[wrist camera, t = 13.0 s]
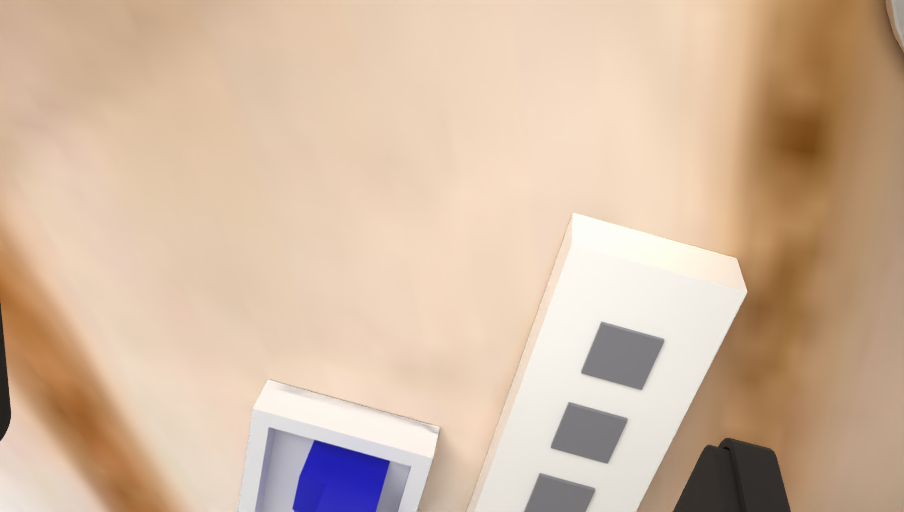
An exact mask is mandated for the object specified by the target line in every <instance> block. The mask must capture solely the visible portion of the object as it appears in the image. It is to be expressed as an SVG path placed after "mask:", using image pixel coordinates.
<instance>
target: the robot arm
mask: <svg viewBox="0 0 904 512" xmlns="http://www.w3.org/2000/svg"><path fill="white" fill-rule="evenodd" d="M886 9H887V13H888V16H889V20H890V23H891V27H892V31H893V34H894V36H895V38H896V40H897V42H898V44H899V45H900V47H901V49H902V51H903V53H904V0H886ZM10 419H11V407H10V397H9V386H8V376H7V366H6V355H5V345H4V335H3V325H2V314H1V304H0V441H1V440H2V438H3V437H4V435H5V433H6V431H7V429H8V426H9V424H10ZM673 512H791V511H790V507H789V503H788V499H787V495H786V492H785V488H784V484H783V480H782V476H781V472H780V468H779V465H778V461H777V457H776V455H775V453H774V451H773V450H771V449H770V448H766V447H762V446H758V445H754V444H750V443H746V442H742V441H739V440H735V439H731V438H725V439H724V440H723V441H722V442H721V443H720V445H719V447H715V446H712V445H707V446H706V447H705V448H704V450H703V451H702V453H701V455H700V457H699V459H698V461H697V463H696V465H695V468H694V470H693V472H692V474H691V476H690V478H689V480H688V482H687V484H686V486H685V488H684V490H683V492H682V494H681V496H680V498H679V500H678V502H677V504H676V507H675V509H674V511H673Z"/></svg>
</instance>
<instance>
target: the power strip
mask: <svg viewBox="0 0 904 512" xmlns="http://www.w3.org/2000/svg"><path fill="white" fill-rule="evenodd" d="M746 294H747V289H746V286H745V283H744V280H743V276H742V273H741V270H740V267H739V264H738V261H737V258H734V257H730V256H727V255H723V254H720V253H716V252H712V251H709V250H705V249H702V248H698V247H694V246H691V245H687V244H684V243H680V242H676V241H673V240H669V239H666V238H662V237H658V236H655V235H651V234H648V233H644V232H640V231H637V230H633V229H630V228H626V227H622V226H619V225H615V224H612V223H608V222H604V221H601V220H597V219H594V218H590V217H586V216H583V215H579V214H576V213H573V214H572V217H571V219H570V222H569V225H568V228H567V231H566V233H565V236H564V239H563V242H562V245H561V248H560V250H559V253H558V256H557V259H556V262H555V264H554V267H553V270H552V273H551V276H550V278H549V281H548V284H547V287H546V290H545V292H544V295H543V298H542V301H541V304H540V307H539V309H538V312H537V315H536V318H535V321H534V323H533V326H532V329H531V332H530V335H529V337H528V340H527V343H526V346H525V349H524V352H523V354H522V357H521V360H520V363H519V366H518V368H517V371H516V374H515V377H514V380H513V382H512V385H511V388H510V391H509V394H508V397H507V399H506V402H505V405H504V408H503V411H502V413H501V416H500V419H499V422H498V425H497V427H496V430H495V433H494V436H493V439H492V442H491V444H490V447H489V450H488V453H487V456H486V458H485V461H484V464H483V467H482V470H481V472H480V475H479V478H478V481H477V484H476V487H475V489H474V492H473V495H472V498H471V501H470V503H469V506H468V509H467V512H636V510H637V508H638V507H639V505H640V503H641V501H642V499H643V497H644V495H645V493H646V491H647V489H648V487H649V485H650V483H651V481H652V479H653V477H654V475H655V473H656V471H657V469H658V467H659V465H660V463H661V461H662V459H663V457H664V455H665V453H666V451H667V449H668V447H669V445H670V443H671V442H672V440H673V438H674V436H675V434H676V432H677V430H678V428H679V426H680V424H681V422H682V420H683V418H684V416H685V414H686V412H687V410H688V408H689V406H690V404H691V402H692V400H693V398H694V396H695V394H696V392H697V390H698V388H699V386H700V384H701V382H702V380H703V378H704V377H705V375H706V373H707V371H708V369H709V367H710V365H711V363H712V361H713V359H714V357H715V355H716V353H717V351H718V349H719V347H720V345H721V343H722V341H723V339H724V337H725V335H726V333H727V331H728V329H729V327H730V325H731V323H732V321H733V319H734V317H735V315H736V313H737V311H738V310H739V308H740V306H741V304H742V302H743V300H744V298H745V296H746Z"/></svg>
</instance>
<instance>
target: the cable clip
mask: <svg viewBox="0 0 904 512" xmlns="http://www.w3.org/2000/svg"><path fill="white" fill-rule="evenodd" d="M389 464H390V461H389V460H385V459H382V458H378V457H375V456H371V455H368V454H364V453H361V452H357V451H354V450H350V449H347V448H343V447H339V446H336V445H332V444H329V443H325V442H321V441H318V440H314V442H313V444H312V447H311V449H310V452H309V454H308V457H307V459H306V462H305V464H304V466H303V469H302V471H301V474H300V476H299V481H298V485H297V490H296V494H295V499H294V503H293V508H292V509H293V510H294V512H376V509H377V506H378V502H379V499H380V495H381V492H382V488H383V485H384V481H385V478H386V474H387V471H388V467H389Z"/></svg>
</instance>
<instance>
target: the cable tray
mask: <svg viewBox="0 0 904 512" xmlns="http://www.w3.org/2000/svg"><path fill="white" fill-rule="evenodd" d="M439 429H440V427H438V426H434V425H430V424H427V423H423V422H420V421H416V420H412V419H409V418H405V417H402V416H398V415H394V414H391V413H387V412H383V411H380V410H376V409H373V408H369V407H365V406H362V405H358V404H355V403H351V402H347V401H344V400H340V399H337V398H333V397H329V396H326V395H322V394H318V393H315V392H311V391H308V390H304V389H300V388H297V387H293V386H290V385H286V384H282V383H279V382H275V381H272V380H268V381H267V382H266V384H265V386H264V388H263V390H262V392H261V394H260V396H259V398H258V400H257V402H256V404H255V405H254V407H253V411H252V418H251V425H250V431H249V438H248V445H247V451H246V458H245V465H244V471H243V478H242V485H241V491H240V498H239V505H238V511H237V512H294V510H293V509H292V508H293V503H294V499H295V494H296V490H297V485H298V481H299V476H300V474H301V471H302V469H303V466H304V464H305V462H306V459H307V457H308V454H309V452H310V449H311V447H312V444H313V442H314V440H318V441H321V442H325V443H329V444H332V445H336V446H339V447H343V448H347V449H350V450H354V451H357V452H361V453H364V454H368V455H371V456H375V457H378V458H382V459H385V460H389V461H390V464H389V467H388V471H387V474H386V478H385V481H384V485H383V488H382V492H381V495H380V499H379V502H378V506H377V509H376V512H417V509H418V505H419V502H420V499H421V496H422V492H423V489H424V486H425V483H426V480H427V476H428V473H429V470H430V467H431V463H432V460H433V457H434V452H435V447H436V443H437V438H438V434H439Z"/></svg>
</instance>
